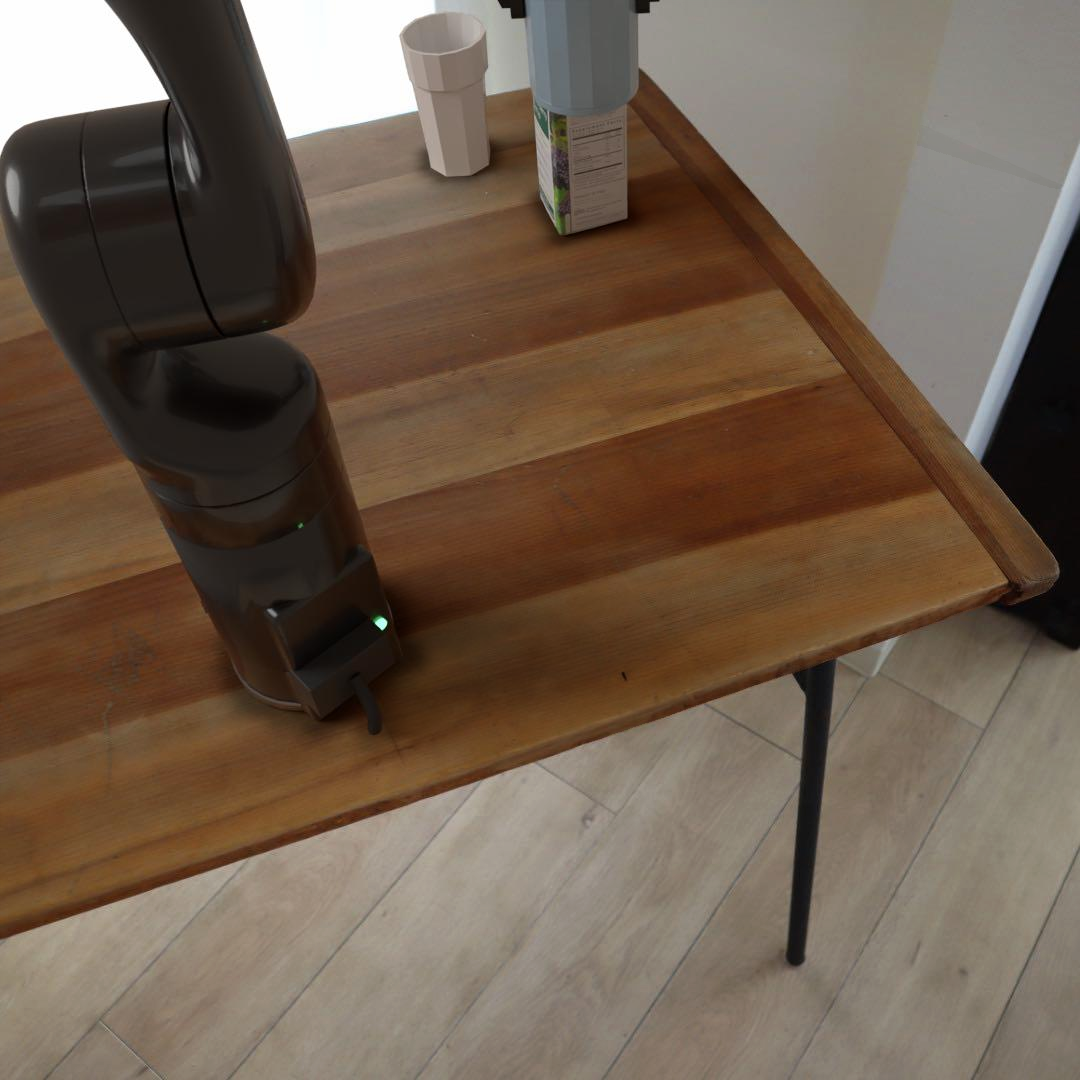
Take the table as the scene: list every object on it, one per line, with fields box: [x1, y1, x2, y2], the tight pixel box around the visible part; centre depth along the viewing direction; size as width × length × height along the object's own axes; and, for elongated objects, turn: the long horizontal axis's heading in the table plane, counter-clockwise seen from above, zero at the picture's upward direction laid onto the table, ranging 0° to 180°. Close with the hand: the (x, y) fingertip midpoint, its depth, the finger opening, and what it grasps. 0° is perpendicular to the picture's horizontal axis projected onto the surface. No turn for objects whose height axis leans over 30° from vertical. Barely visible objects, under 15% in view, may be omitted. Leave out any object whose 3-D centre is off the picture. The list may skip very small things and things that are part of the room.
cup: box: [398, 10, 491, 178], centre depth 94 cm, size 7×7×11 cm
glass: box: [523, 0, 640, 117], centre depth 65 cm, size 6×6×9 cm
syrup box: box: [532, 96, 629, 236], centre depth 87 cm, size 6×6×14 cm
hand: (581, 8), depth 65 cm, fingers closed on glass, 6 cm apart
